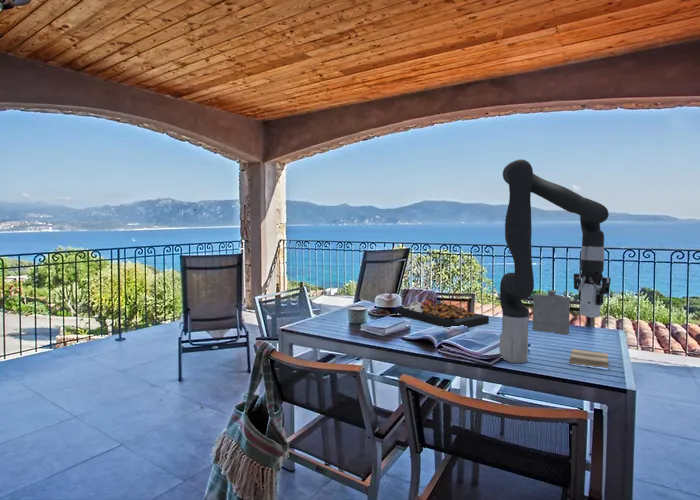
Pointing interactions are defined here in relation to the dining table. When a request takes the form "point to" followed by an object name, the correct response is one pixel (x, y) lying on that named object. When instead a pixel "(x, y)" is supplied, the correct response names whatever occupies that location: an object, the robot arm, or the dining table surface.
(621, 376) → the dining table surface
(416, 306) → the food platter
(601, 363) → the oak stand
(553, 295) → the hip flask
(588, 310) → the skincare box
